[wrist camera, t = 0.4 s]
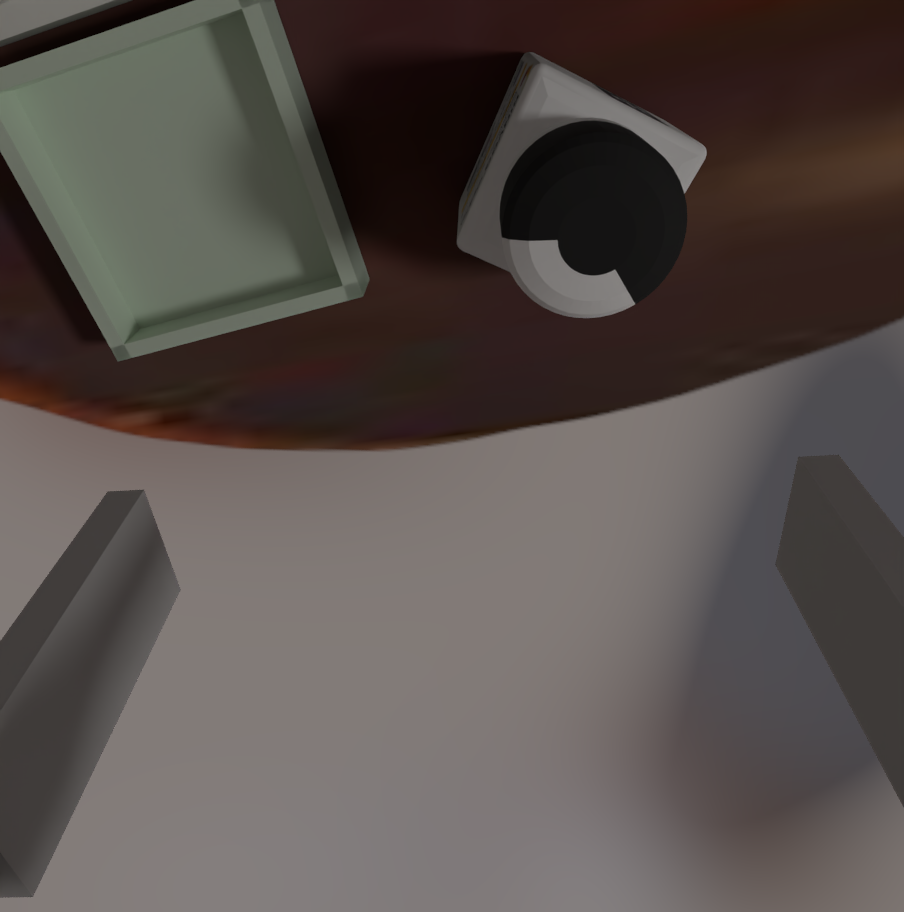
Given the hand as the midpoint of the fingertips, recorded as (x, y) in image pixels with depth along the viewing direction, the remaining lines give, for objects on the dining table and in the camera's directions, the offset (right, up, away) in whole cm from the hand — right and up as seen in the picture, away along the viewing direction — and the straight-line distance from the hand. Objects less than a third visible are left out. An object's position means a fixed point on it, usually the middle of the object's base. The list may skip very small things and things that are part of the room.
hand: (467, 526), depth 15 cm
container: (+5, +16, +21) cm, 27 cm away
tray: (-13, +15, +22) cm, 30 cm away
